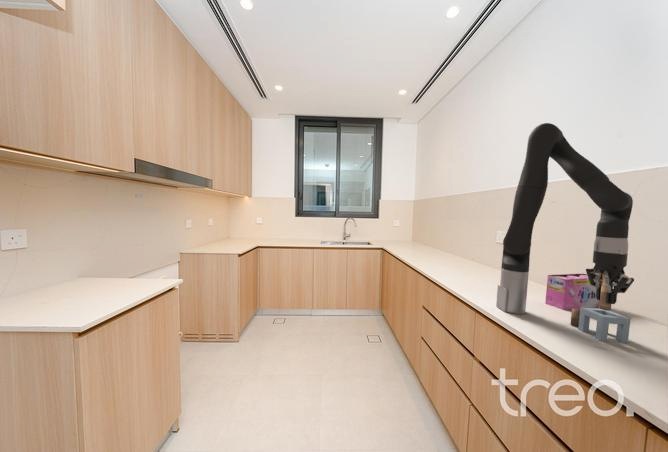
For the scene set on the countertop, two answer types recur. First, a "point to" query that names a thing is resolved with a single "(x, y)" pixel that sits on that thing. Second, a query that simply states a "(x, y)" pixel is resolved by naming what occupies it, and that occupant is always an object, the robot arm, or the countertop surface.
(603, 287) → the long pin
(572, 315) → the short pin
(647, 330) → the countertop surface
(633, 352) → the countertop surface
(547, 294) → the gum box
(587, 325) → the square frame
